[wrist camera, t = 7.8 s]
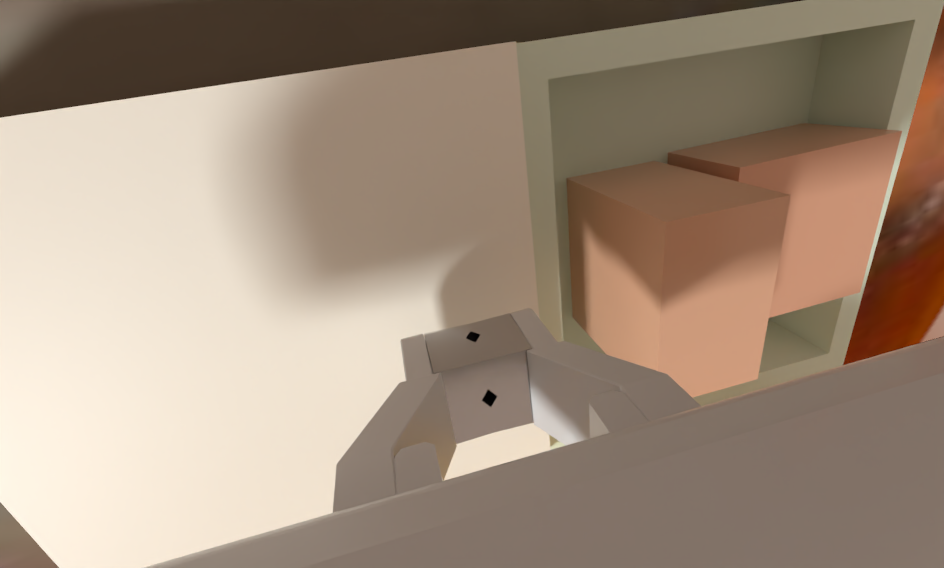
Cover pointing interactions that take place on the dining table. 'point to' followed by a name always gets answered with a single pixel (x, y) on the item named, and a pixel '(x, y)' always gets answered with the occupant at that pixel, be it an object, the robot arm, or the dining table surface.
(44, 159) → the panel
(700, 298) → the salmon pink block
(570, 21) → the dining table surface
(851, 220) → the salmon pink box
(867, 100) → the tray
